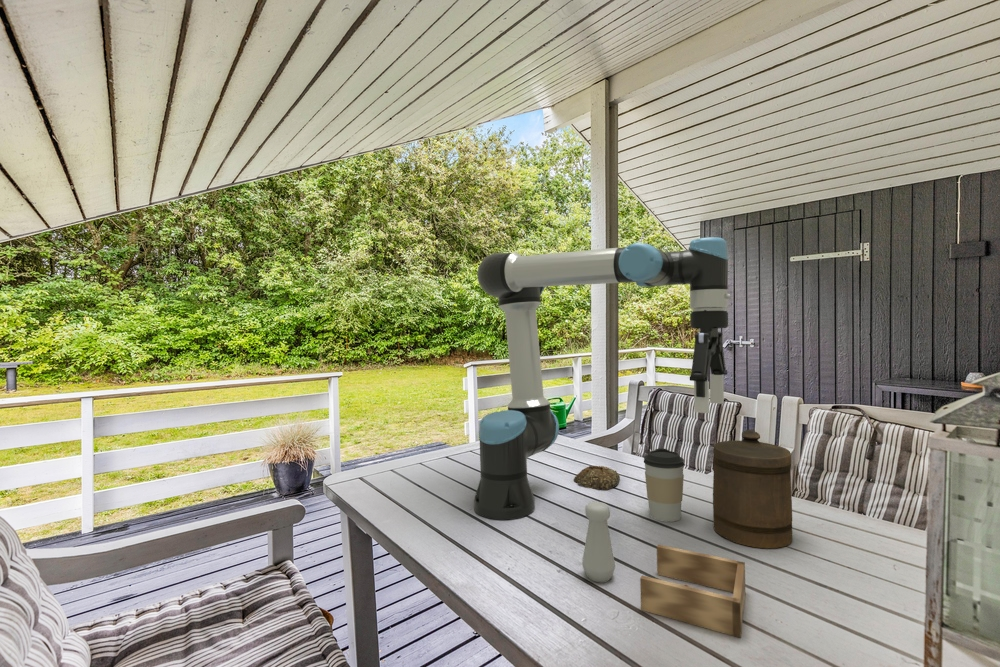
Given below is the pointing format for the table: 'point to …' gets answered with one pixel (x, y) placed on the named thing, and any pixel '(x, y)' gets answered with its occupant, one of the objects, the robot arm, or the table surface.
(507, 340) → the robot arm
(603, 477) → the bread roll
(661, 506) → the coffee cup
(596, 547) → the salt shaker
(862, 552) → the table surface
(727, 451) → the wooden container
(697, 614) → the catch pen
